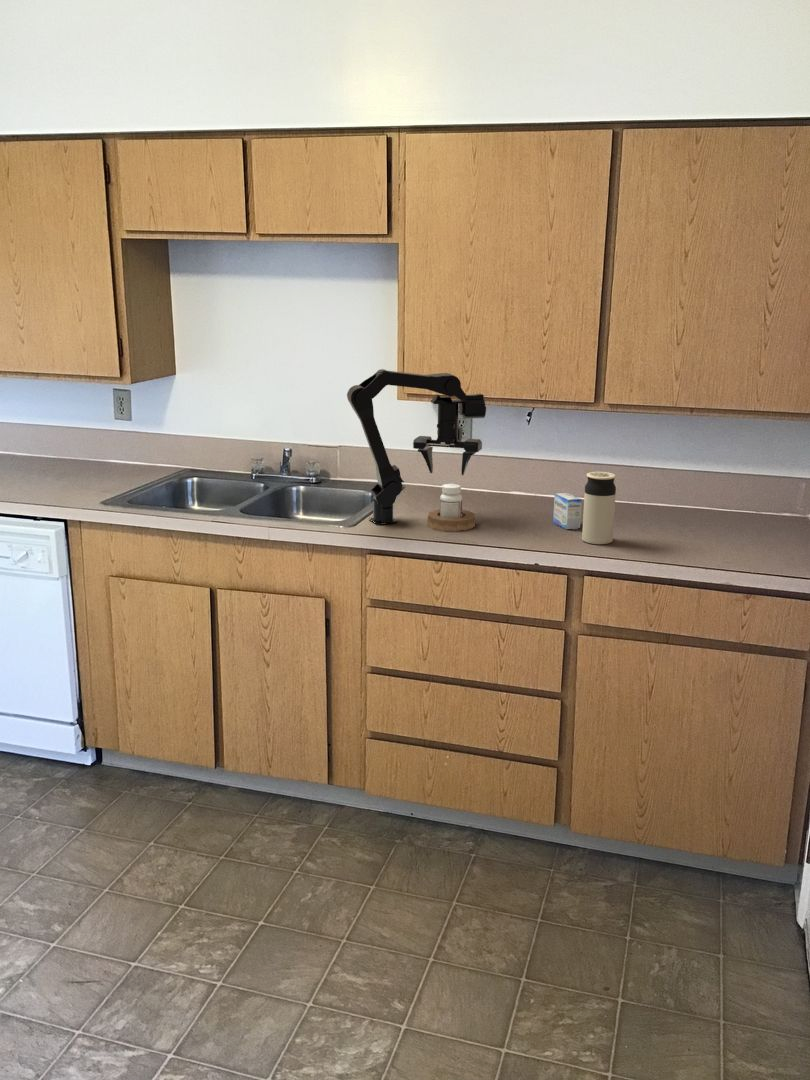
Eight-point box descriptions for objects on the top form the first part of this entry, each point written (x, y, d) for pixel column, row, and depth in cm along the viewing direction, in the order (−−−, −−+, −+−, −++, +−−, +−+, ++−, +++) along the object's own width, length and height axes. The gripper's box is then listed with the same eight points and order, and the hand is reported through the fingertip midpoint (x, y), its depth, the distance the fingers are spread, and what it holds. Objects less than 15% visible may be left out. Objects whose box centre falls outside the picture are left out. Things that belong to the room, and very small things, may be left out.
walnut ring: (420, 521, 284) (420, 511, 283) (460, 517, 289) (461, 507, 289) (441, 533, 273) (441, 522, 272) (483, 528, 278) (483, 517, 277)
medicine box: (552, 523, 283) (553, 493, 281) (566, 522, 285) (568, 492, 283) (566, 530, 276) (568, 499, 274) (580, 529, 278) (582, 498, 275)
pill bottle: (449, 521, 285) (450, 482, 282) (466, 524, 281) (467, 485, 278) (435, 525, 281) (435, 485, 278) (452, 529, 277) (452, 489, 274)
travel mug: (590, 546, 262) (594, 478, 257) (576, 538, 269) (580, 472, 264) (617, 543, 264) (622, 476, 259) (603, 535, 271) (607, 470, 266)
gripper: (486, 416, 285) (485, 470, 289) (423, 413, 290) (423, 466, 294) (478, 422, 275) (476, 478, 279) (412, 419, 280) (412, 474, 284)
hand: (447, 474), depth 284 cm, fingers open, 9 cm apart
